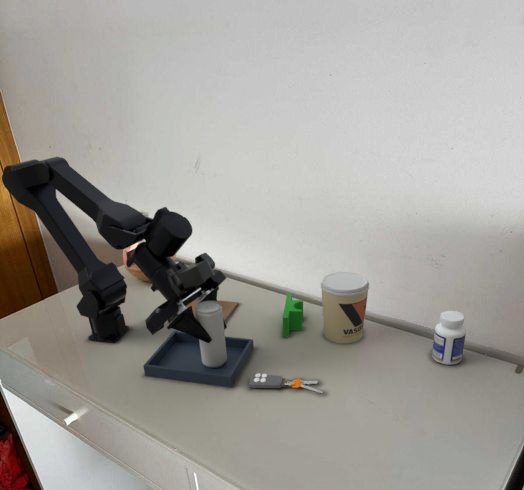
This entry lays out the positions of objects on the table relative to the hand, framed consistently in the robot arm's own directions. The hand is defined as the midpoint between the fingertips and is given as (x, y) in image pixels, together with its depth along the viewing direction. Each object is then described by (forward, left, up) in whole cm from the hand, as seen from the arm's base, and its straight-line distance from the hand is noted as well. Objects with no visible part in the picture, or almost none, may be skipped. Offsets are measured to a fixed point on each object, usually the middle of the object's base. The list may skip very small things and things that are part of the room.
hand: (217, 335), depth 91 cm
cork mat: (-11, +19, -7) cm, 23 cm away
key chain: (+14, -4, -7) cm, 16 cm away
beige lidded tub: (+21, +16, -7) cm, 27 cm away
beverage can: (-1, 0, -6) cm, 7 cm away
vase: (-33, +36, -7) cm, 50 cm away
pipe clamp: (+10, +18, -7) cm, 22 cm away
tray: (-4, 0, -7) cm, 8 cm away
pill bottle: (+41, +11, -7) cm, 43 cm away
